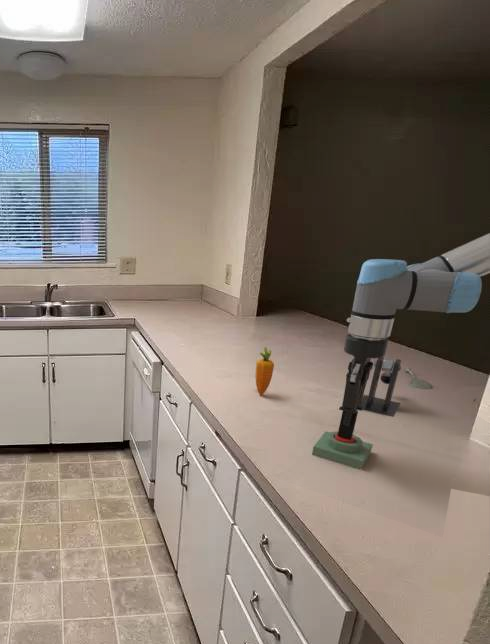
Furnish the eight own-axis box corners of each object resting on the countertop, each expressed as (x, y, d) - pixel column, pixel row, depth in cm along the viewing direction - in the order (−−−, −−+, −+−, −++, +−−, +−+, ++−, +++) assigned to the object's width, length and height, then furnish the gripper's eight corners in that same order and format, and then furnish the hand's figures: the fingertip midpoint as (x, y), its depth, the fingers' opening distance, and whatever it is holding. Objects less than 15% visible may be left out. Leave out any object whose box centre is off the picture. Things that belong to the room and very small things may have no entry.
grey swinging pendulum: (379, 384, 129) (382, 373, 129) (393, 386, 126) (397, 375, 127) (377, 368, 118) (381, 356, 119) (393, 371, 116) (397, 359, 117)
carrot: (268, 399, 131) (275, 351, 125) (250, 396, 133) (257, 349, 128) (270, 393, 135) (277, 347, 129) (253, 391, 137) (260, 345, 132)
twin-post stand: (363, 399, 130) (374, 351, 125) (399, 407, 124) (412, 357, 119) (354, 411, 122) (365, 361, 117) (392, 420, 116) (405, 368, 111)
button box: (323, 439, 107) (326, 424, 106) (370, 452, 101) (374, 437, 99) (311, 454, 100) (314, 439, 99) (361, 470, 94) (365, 453, 92)
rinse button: (336, 438, 102) (337, 431, 101) (355, 443, 100) (356, 436, 99) (331, 444, 99) (333, 437, 99) (351, 450, 97) (352, 443, 96)
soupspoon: (407, 393, 136) (432, 397, 133) (410, 383, 134) (436, 387, 132) (396, 370, 154) (418, 373, 151) (399, 361, 152) (421, 364, 150)
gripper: (354, 327, 97) (334, 422, 106) (339, 339, 88) (318, 441, 97) (394, 332, 93) (369, 431, 101) (382, 345, 84) (356, 452, 92)
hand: (344, 436), depth 99 cm, fingers closed
